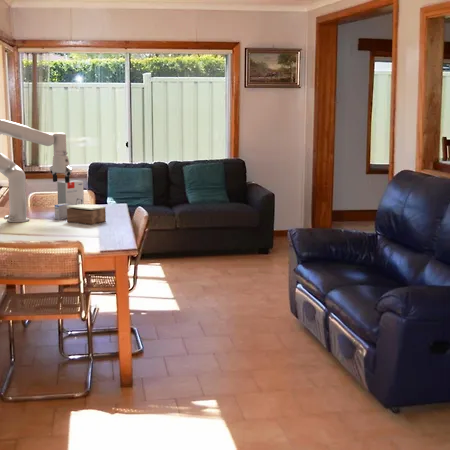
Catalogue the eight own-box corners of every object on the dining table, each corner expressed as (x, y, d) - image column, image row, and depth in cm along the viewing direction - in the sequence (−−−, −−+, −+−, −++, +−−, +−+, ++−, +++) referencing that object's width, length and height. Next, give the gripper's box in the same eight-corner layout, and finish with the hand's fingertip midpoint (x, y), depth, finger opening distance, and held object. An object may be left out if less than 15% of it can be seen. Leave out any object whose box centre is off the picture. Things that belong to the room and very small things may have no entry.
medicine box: (65, 217, 438) (64, 203, 437) (69, 218, 435) (69, 204, 434) (54, 218, 432) (54, 204, 431) (59, 219, 429) (58, 205, 428)
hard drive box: (65, 214, 448) (64, 182, 444) (57, 213, 452) (56, 181, 449) (84, 211, 460) (83, 180, 456) (76, 210, 465) (75, 179, 461)
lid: (90, 210, 411) (90, 208, 411) (66, 207, 420) (66, 205, 420) (105, 208, 423) (105, 206, 422) (81, 205, 432) (81, 204, 432)
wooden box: (91, 225, 413) (90, 211, 412) (67, 221, 422) (66, 208, 421) (105, 221, 424) (105, 208, 423) (82, 218, 433) (81, 205, 432)
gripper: (75, 153, 426) (76, 182, 429) (53, 152, 434) (54, 180, 437) (66, 154, 419) (67, 183, 422) (44, 153, 428) (46, 181, 431)
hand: (61, 182), depth 430 cm, fingers open, 9 cm apart
